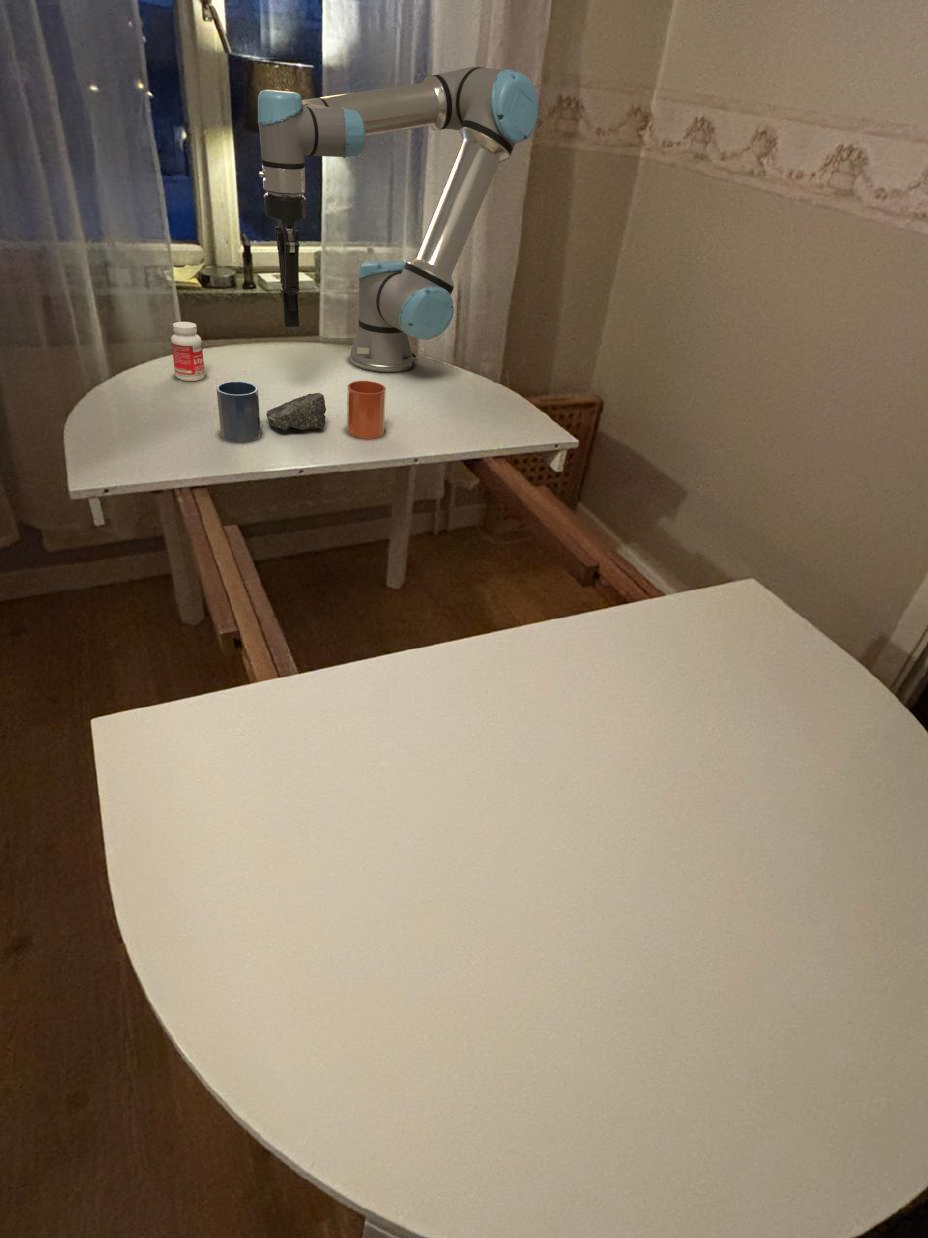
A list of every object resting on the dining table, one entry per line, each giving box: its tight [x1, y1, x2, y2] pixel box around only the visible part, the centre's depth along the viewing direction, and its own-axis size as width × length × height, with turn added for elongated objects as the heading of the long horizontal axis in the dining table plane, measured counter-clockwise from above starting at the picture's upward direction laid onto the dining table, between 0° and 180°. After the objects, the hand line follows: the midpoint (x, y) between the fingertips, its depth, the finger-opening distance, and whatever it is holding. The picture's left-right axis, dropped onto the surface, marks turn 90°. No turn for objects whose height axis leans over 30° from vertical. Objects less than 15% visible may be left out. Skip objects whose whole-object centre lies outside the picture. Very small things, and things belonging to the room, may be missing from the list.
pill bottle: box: [170, 321, 206, 382], centre depth 158 cm, size 6×6×11 cm
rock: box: [265, 392, 327, 431], centre depth 144 cm, size 9×11×6 cm
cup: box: [216, 380, 262, 444], centre depth 137 cm, size 7×7×9 cm
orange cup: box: [346, 380, 387, 440], centre depth 145 cm, size 7×7×9 cm
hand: (291, 325), depth 150 cm, fingers closed
